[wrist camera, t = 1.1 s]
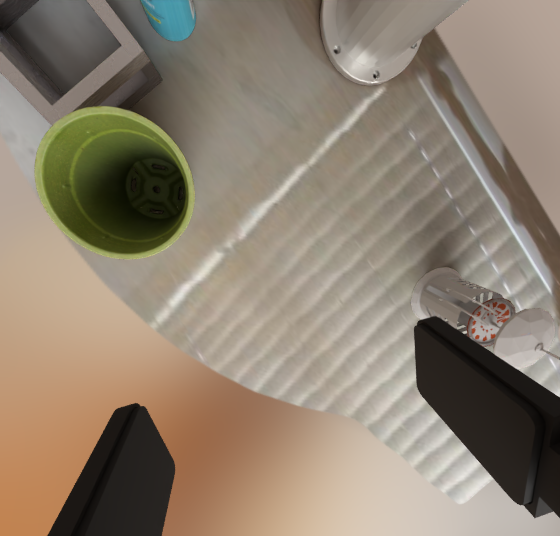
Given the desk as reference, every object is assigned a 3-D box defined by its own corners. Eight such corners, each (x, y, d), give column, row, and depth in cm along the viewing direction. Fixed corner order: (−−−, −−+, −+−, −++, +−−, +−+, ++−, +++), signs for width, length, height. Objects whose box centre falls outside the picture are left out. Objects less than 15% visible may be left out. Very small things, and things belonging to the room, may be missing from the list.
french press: (438, 330, 46) (658, 482, 22) (391, 301, 42) (593, 443, 19) (474, 284, 44) (753, 394, 20) (429, 250, 41) (701, 334, 17)
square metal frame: (65, -48, 25) (9, -126, 18) (162, 80, 29) (143, 50, 22) (-16, 25, 25) (-97, -29, 19) (91, 140, 29) (53, 127, 23)
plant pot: (184, 122, 30) (157, 85, 20) (220, 220, 34) (215, 234, 23) (82, 152, 29) (-4, 130, 19) (131, 249, 33) (83, 277, 23)
